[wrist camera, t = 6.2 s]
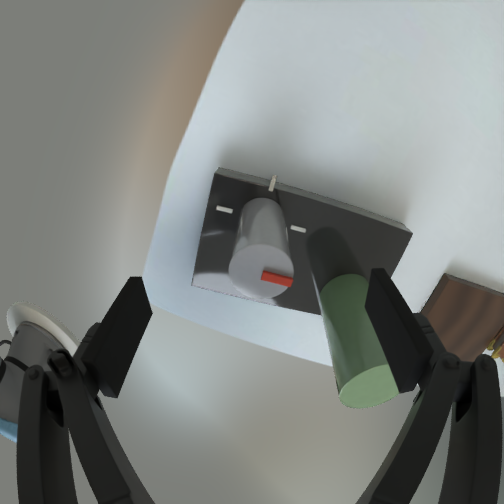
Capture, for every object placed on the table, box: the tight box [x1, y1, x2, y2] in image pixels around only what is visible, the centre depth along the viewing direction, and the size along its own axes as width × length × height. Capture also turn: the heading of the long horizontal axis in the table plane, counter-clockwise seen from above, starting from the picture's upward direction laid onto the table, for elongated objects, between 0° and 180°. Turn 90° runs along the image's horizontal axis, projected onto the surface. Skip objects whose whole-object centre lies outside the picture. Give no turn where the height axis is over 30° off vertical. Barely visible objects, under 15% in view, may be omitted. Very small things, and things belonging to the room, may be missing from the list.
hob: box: [192, 167, 413, 315], centre depth 28 cm, size 20×13×3 cm, turn 75°
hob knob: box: [228, 198, 294, 299], centre depth 21 cm, size 4×4×9 cm
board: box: [420, 273, 504, 362], centre depth 34 cm, size 21×16×2 cm
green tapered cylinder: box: [319, 274, 399, 408], centre depth 24 cm, size 6×6×12 cm
